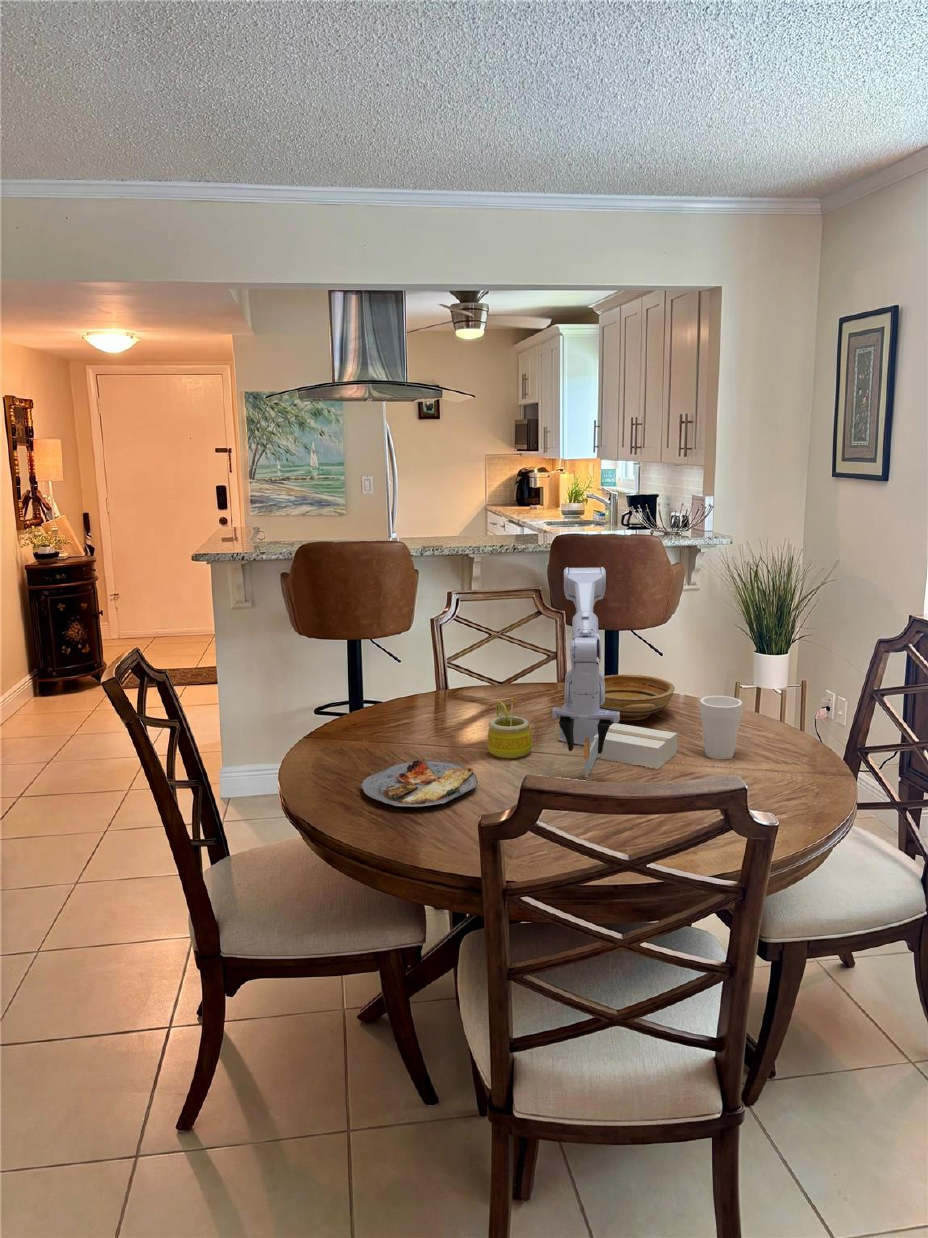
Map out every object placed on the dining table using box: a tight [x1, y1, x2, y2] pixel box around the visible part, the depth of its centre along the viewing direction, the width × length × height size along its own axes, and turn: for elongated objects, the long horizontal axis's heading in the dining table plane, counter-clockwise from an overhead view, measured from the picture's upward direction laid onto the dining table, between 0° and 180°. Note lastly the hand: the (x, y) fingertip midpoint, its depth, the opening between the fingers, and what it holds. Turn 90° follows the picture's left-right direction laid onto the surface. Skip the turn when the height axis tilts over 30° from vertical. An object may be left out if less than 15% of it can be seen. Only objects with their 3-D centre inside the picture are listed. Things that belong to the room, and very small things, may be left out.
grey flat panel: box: [583, 737, 598, 778], centre depth 200 cm, size 14×1×9 cm, turn 163°
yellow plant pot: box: [486, 698, 534, 759], centre depth 213 cm, size 13×11×12 cm
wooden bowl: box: [599, 674, 676, 721], centre depth 240 cm, size 30×24×8 cm
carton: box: [593, 722, 678, 770], centre depth 209 cm, size 16×12×5 cm
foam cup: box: [699, 695, 743, 760], centre depth 207 cm, size 10×9×13 cm
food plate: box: [361, 758, 479, 809], centre depth 192 cm, size 25×23×4 cm
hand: (585, 750), depth 195 cm, fingers open, 6 cm apart
